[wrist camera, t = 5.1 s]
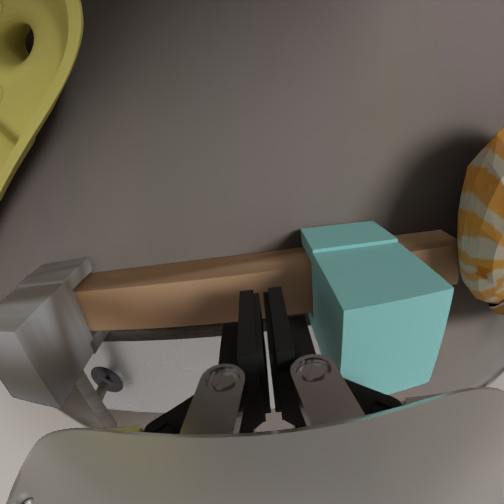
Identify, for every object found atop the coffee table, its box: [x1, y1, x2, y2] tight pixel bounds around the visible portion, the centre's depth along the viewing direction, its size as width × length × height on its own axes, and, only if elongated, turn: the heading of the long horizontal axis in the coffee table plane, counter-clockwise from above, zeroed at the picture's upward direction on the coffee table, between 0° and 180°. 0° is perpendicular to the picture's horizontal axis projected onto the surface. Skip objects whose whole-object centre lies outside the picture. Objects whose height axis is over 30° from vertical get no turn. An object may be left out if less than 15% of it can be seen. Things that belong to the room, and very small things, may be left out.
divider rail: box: [0, 230, 460, 428], centre depth 14 cm, size 11×25×8 cm, turn 97°
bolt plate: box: [84, 314, 321, 413], centre depth 18 cm, size 7×25×1 cm, turn 97°
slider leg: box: [301, 221, 454, 395], centre depth 13 cm, size 11×4×8 cm, turn 7°
